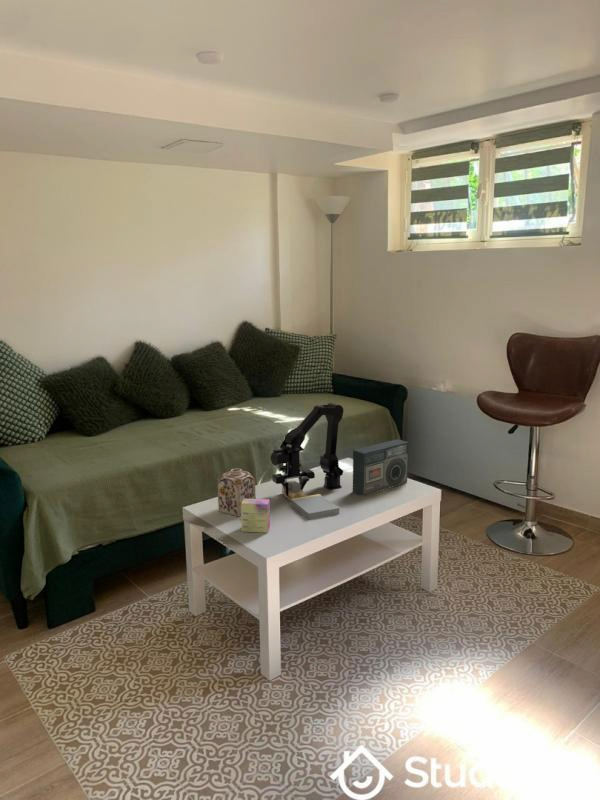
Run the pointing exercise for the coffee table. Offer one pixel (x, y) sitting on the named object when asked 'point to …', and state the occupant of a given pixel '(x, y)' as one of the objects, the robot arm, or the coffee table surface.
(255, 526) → the box
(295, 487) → the gray rectangular block
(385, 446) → the cassette player
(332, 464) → the robot arm
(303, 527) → the coffee table surface
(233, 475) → the decorative jar
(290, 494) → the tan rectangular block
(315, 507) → the dock
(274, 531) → the coffee table surface
